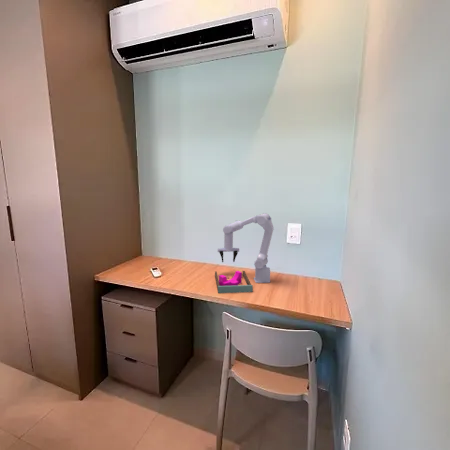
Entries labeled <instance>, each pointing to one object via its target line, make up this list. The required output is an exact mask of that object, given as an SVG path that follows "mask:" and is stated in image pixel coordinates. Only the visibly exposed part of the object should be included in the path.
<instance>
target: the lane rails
mask: <svg viewBox="0 0 450 450" xmlns="http://www.w3.org/2000/svg"><path fill="white" fill-rule="evenodd" d="M218 275H219V274H218V272H217V271H214V278H215V283H216V290H217V291H218V286H220V285H219V277H218ZM242 277H243V279H244V281H245V284H246V285H252V283H251V281H250V279H249V276H248V275H247V273H246V271H245V270H242Z"/></svg>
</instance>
